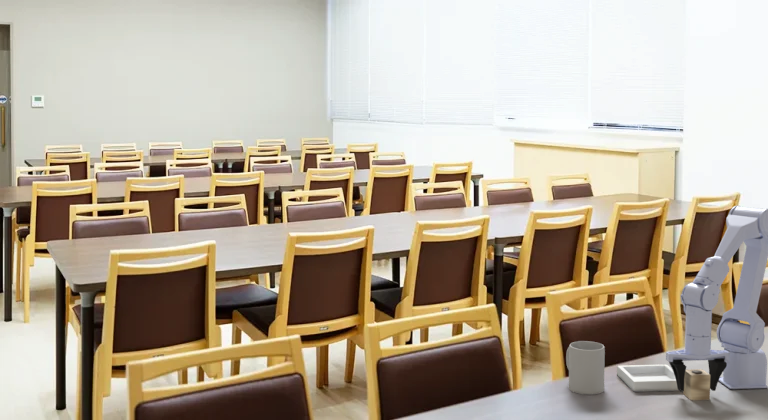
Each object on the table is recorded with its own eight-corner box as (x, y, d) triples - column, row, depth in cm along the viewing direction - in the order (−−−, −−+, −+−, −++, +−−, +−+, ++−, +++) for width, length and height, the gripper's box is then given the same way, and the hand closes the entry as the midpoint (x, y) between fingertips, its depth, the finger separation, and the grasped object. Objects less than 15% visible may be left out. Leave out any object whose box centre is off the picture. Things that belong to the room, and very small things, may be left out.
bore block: (701, 393, 201) (702, 368, 201) (709, 399, 197) (710, 374, 196) (683, 393, 201) (683, 369, 201) (690, 400, 197) (691, 374, 196)
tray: (666, 373, 216) (666, 364, 216) (686, 390, 204) (686, 380, 203) (616, 375, 216) (617, 365, 216) (633, 391, 203) (634, 381, 203)
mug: (611, 391, 203) (612, 347, 202) (582, 397, 200) (583, 352, 199) (580, 377, 214) (581, 336, 213) (553, 382, 211) (553, 340, 210)
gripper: (720, 329, 202) (719, 383, 203) (661, 330, 201) (660, 385, 203) (734, 336, 195) (732, 393, 196) (672, 338, 194) (671, 394, 196)
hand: (696, 389), depth 199 cm, fingers open, 7 cm apart
